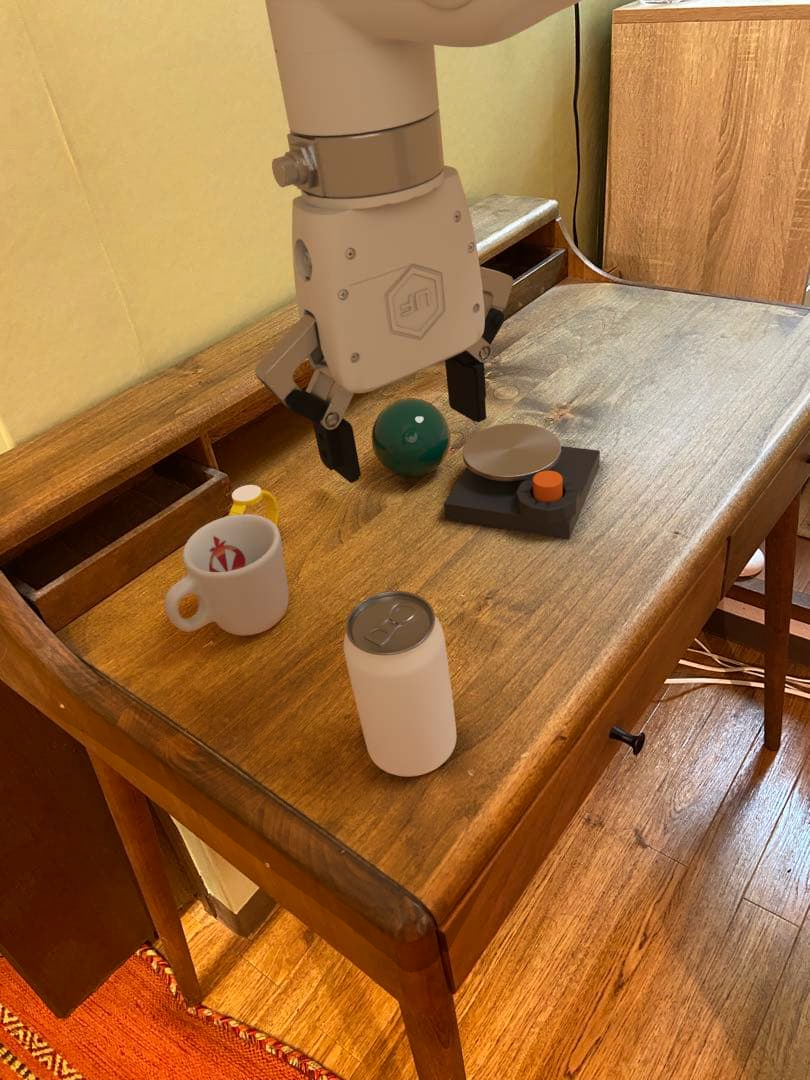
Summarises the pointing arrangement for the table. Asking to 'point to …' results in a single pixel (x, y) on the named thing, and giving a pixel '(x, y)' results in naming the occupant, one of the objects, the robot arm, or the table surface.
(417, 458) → the sphere
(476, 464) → the brushed metal disc
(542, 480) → the button
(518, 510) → the scale
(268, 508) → the watch
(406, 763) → the can
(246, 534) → the cup
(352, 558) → the table surface
